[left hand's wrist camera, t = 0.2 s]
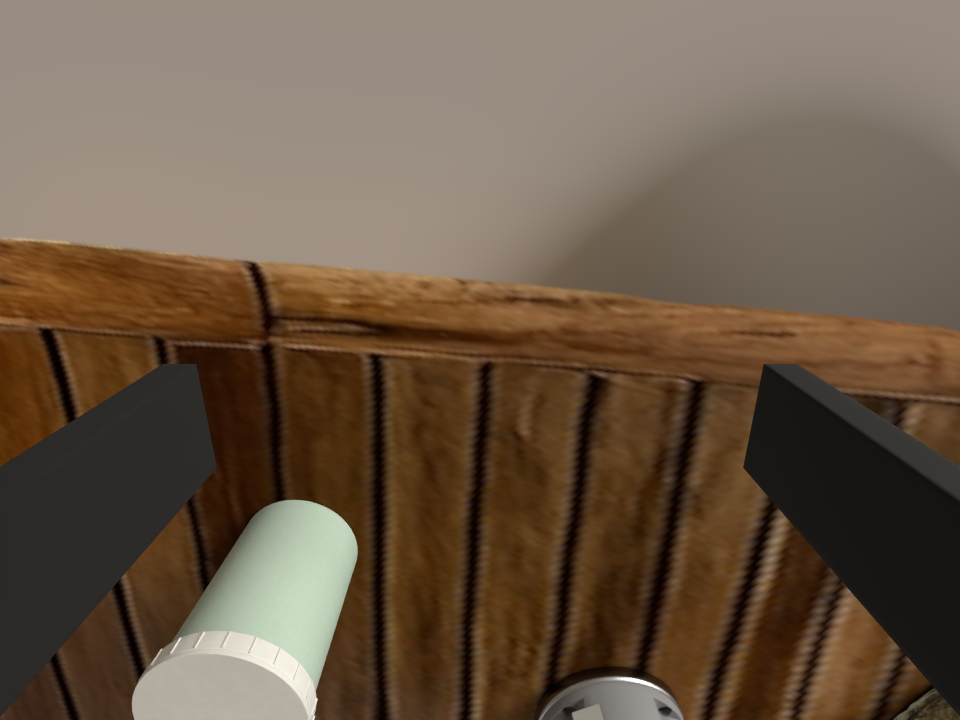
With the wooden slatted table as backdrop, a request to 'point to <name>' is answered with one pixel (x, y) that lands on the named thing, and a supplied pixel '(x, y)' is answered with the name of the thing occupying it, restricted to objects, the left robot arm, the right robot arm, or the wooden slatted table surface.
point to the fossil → (929, 709)
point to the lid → (224, 681)
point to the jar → (283, 582)
